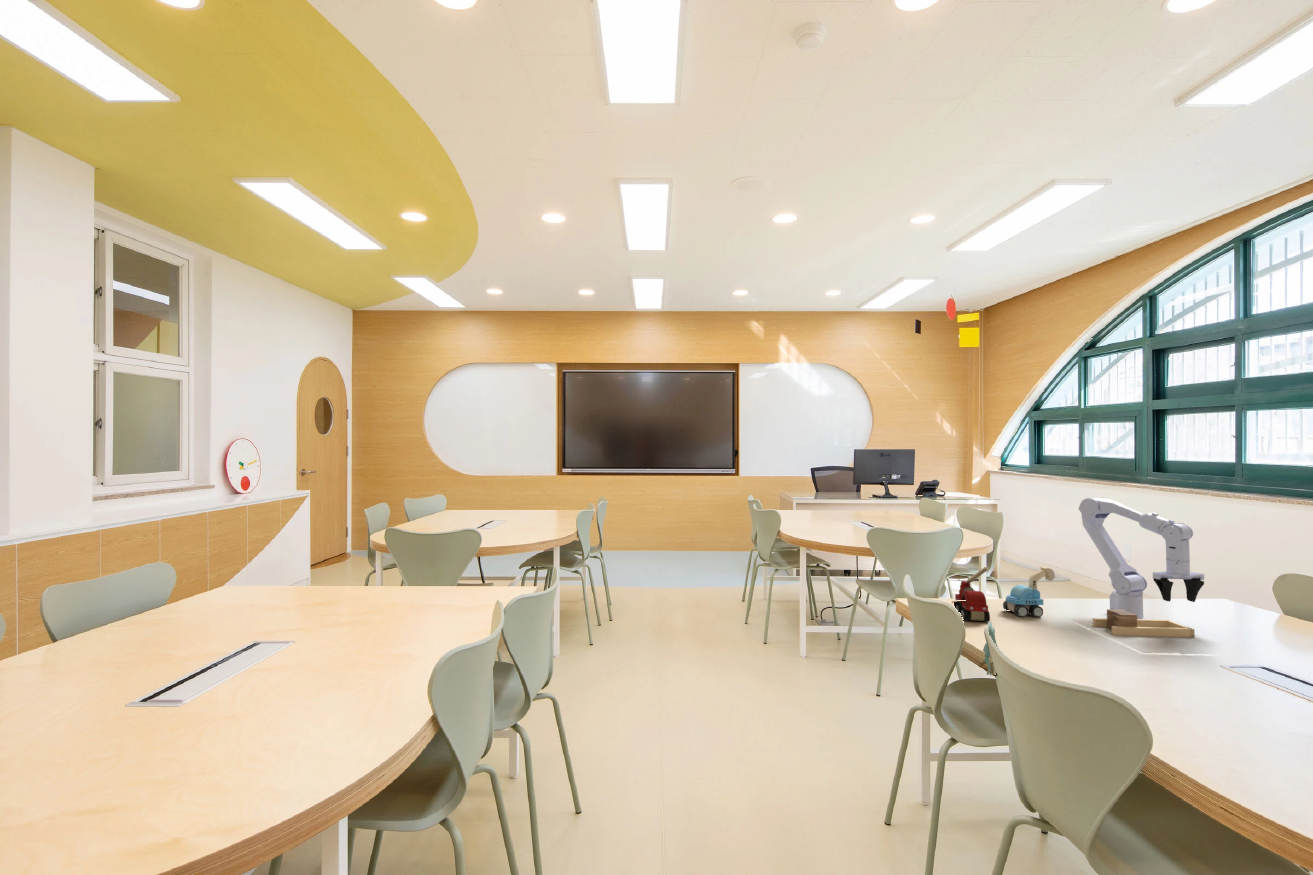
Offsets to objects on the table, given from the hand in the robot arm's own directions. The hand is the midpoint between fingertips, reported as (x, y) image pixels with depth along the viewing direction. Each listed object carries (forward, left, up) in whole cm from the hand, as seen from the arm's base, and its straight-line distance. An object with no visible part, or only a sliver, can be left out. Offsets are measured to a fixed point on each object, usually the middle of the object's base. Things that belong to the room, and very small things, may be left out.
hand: (1178, 600), depth 182 cm
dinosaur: (+37, -78, -10) cm, 87 cm away
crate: (+3, -20, -9) cm, 22 cm away
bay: (+3, -14, -10) cm, 17 cm away
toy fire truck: (-11, -60, -10) cm, 62 cm away
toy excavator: (-16, -38, -10) cm, 42 cm away
